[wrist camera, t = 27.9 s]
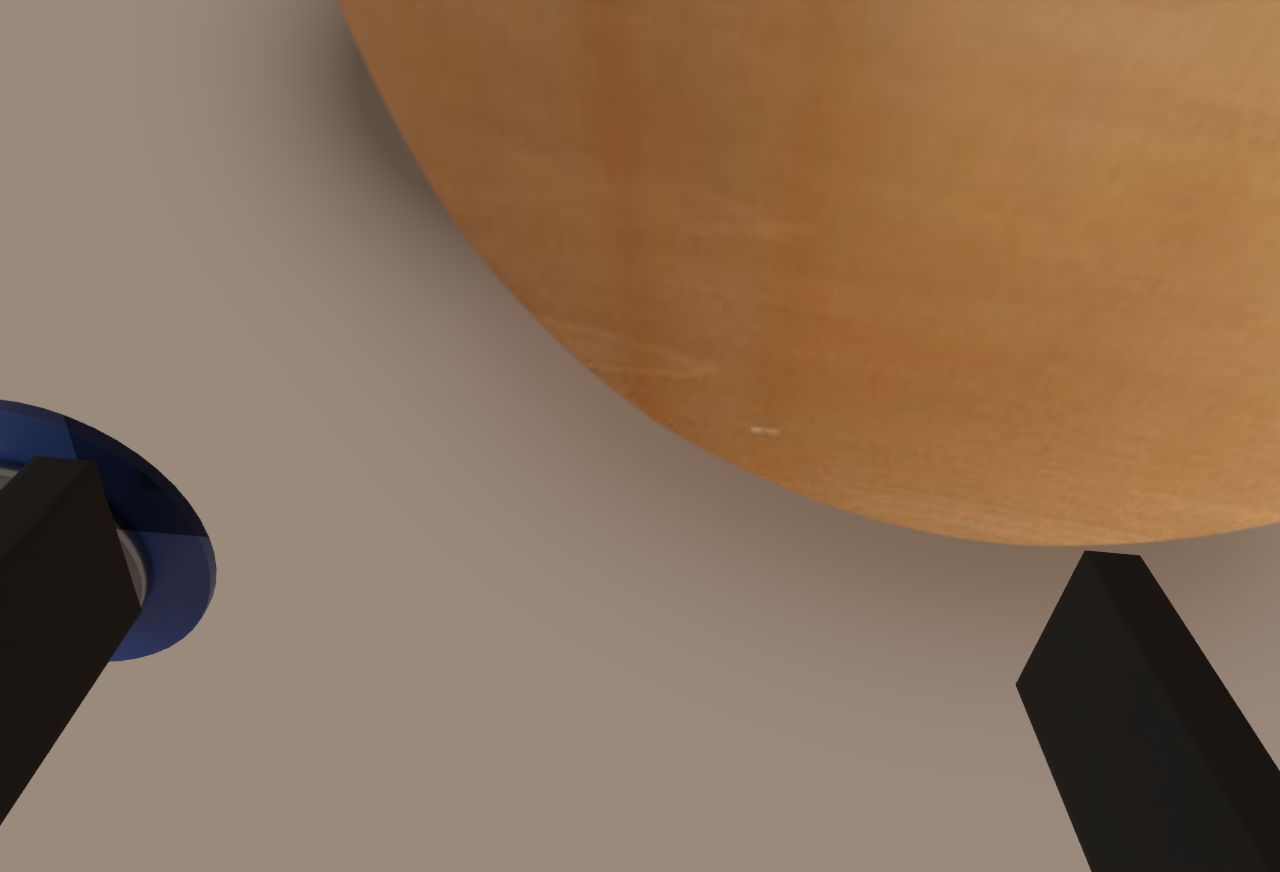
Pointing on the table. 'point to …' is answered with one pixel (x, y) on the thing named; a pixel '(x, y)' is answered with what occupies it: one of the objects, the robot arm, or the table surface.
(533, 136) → the table surface
